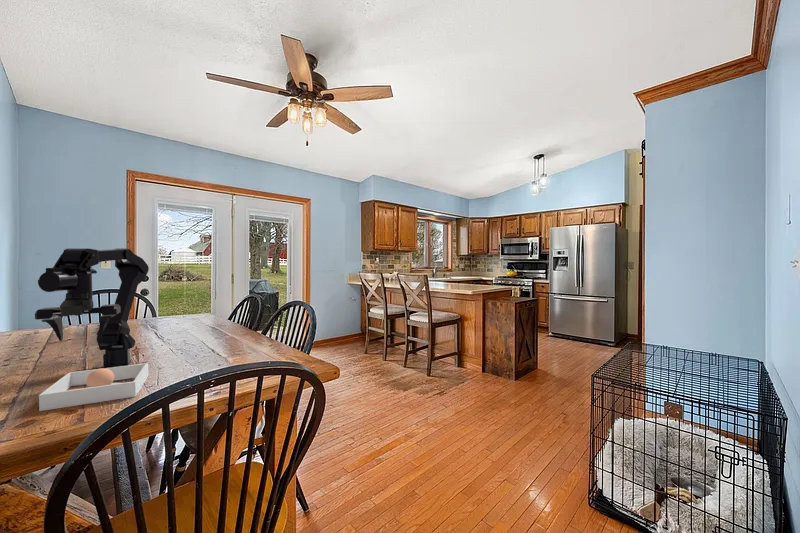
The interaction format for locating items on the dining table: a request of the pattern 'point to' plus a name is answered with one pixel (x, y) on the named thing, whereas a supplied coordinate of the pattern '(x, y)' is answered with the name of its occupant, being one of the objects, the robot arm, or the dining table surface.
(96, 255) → the robot arm
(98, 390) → the walled pen
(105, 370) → the ball
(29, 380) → the dining table surface
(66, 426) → the dining table surface
